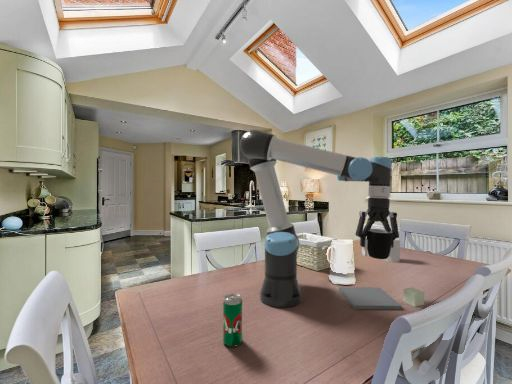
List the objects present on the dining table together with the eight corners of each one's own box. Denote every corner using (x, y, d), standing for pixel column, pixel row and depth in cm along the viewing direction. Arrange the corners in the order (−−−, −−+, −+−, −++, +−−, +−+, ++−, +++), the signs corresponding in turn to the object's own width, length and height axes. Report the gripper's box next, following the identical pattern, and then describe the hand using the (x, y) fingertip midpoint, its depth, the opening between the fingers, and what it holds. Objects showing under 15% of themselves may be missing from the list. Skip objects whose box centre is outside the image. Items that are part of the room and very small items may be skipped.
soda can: (243, 336, 70) (243, 293, 70) (241, 348, 65) (241, 301, 65) (224, 336, 71) (224, 292, 70) (221, 347, 66) (221, 301, 65)
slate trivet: (353, 308, 87) (353, 305, 87) (338, 289, 103) (338, 286, 103) (401, 309, 87) (401, 305, 87) (379, 290, 103) (379, 287, 103)
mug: (396, 258, 97) (398, 232, 97) (380, 261, 93) (382, 233, 92) (369, 251, 107) (370, 227, 107) (354, 253, 103) (355, 228, 103)
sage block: (414, 306, 89) (414, 293, 89) (403, 301, 93) (403, 288, 93) (424, 304, 90) (424, 292, 90) (412, 299, 94) (412, 287, 94)
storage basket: (283, 261, 142) (283, 234, 142) (304, 256, 152) (304, 231, 152) (317, 273, 123) (317, 242, 123) (338, 267, 132) (338, 238, 132)
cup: (380, 258, 148) (380, 237, 148) (391, 257, 150) (391, 237, 150) (391, 262, 140) (391, 240, 140) (403, 261, 143) (403, 239, 142)
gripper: (355, 197, 95) (352, 257, 96) (412, 198, 96) (409, 258, 97) (347, 196, 103) (345, 252, 104) (400, 197, 104) (397, 253, 104)
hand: (376, 255), depth 100 cm, fingers closed on mug, 9 cm apart
